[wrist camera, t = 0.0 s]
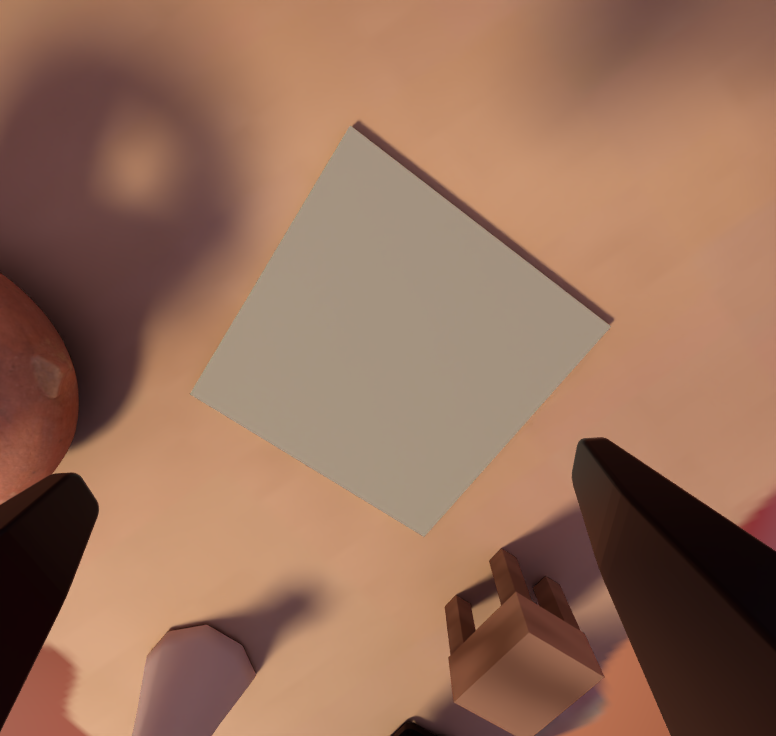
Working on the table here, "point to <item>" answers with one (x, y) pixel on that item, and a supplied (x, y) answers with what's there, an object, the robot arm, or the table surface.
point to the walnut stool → (519, 654)
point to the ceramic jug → (32, 393)
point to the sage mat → (394, 340)
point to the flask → (191, 683)
